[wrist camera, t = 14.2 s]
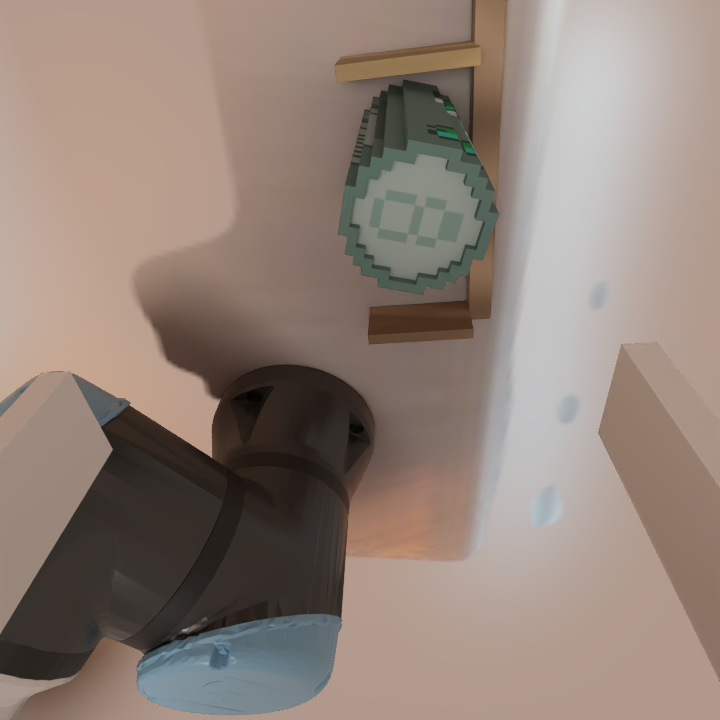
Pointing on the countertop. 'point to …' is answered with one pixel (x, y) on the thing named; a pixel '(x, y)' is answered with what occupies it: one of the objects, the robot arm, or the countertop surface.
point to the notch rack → (484, 136)
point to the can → (415, 193)
